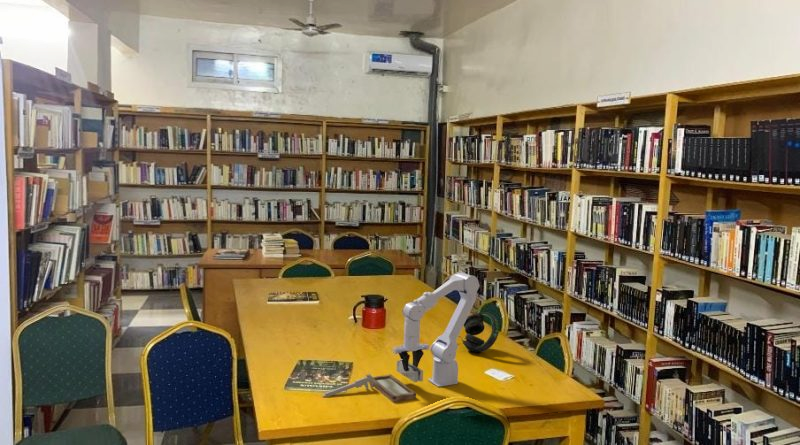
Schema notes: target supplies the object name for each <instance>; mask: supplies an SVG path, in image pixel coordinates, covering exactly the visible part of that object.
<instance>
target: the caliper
mask: <svg viewBox="0 0 800 445" xmlns="http://www.w3.org/2000/svg"><path fill="white" fill-rule="evenodd" d="M365 376H366V377H363V378H359V379H356V380H354V382H351V383H348V384H346V385H343V386H340V387H337V388H335V389H332V390H329V391H327V392H324V394H323V395H321V397H322V398H326V397H327V398H328V397H331V396H335V395H337V394H340V393H343V392H346V391H348V390H350V389H353V388H356V389H359V388H361V387H363V386H364V387H365V389H366V390H367V391H368V390H369V386H370V390H371V389H372V390H373V387H374V386H373V378H372V377H373V376H372V375H371V373H370V372H369V373H368V374H365Z"/></svg>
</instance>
